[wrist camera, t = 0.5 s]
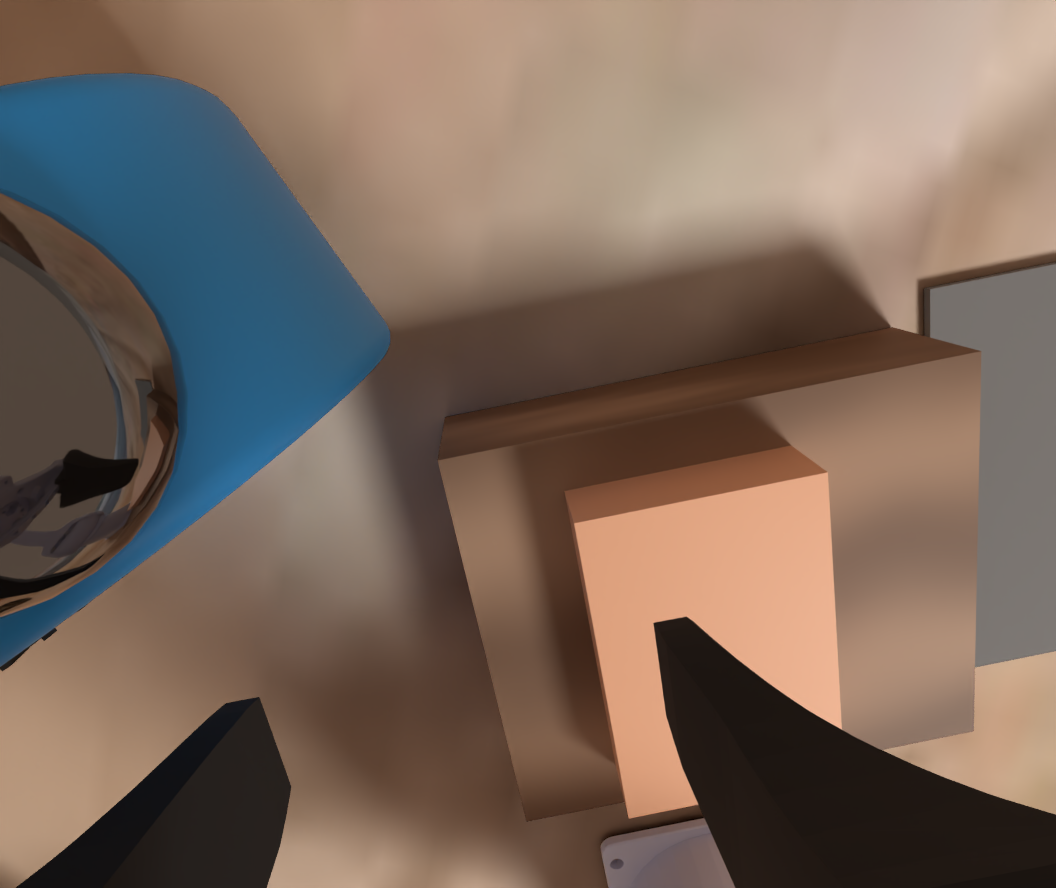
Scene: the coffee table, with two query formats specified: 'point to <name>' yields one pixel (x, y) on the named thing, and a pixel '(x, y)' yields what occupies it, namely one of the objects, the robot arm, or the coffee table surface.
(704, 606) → the peach rectangular block
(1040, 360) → the mat
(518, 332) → the coffee table surface
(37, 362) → the alarm clock
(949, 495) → the tan flat block
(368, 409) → the coffee table surface
